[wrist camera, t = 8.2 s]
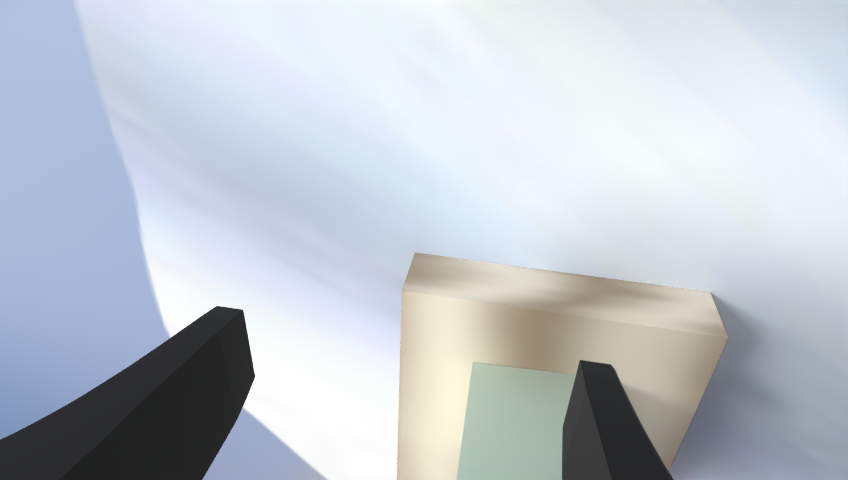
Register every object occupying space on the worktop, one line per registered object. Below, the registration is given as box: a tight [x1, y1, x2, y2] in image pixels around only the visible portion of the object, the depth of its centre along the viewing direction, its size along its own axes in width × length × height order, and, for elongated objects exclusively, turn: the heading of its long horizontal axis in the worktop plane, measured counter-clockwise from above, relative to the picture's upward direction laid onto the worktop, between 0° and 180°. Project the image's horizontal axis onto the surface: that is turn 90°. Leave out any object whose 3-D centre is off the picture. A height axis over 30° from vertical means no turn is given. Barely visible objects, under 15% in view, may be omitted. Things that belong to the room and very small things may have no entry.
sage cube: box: [457, 363, 576, 480], centre depth 20 cm, size 5×5×5 cm
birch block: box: [397, 253, 729, 480], centre depth 23 cm, size 11×11×3 cm
